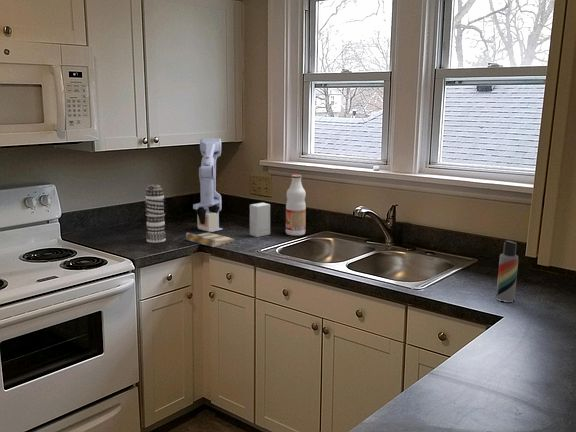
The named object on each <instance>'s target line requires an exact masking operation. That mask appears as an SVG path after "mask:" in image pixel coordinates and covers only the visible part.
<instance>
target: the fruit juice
mask: <svg viewBox="0 0 576 432" xmlns="http://www.w3.org/2000/svg"><path fill="white" fill-rule="evenodd" d="M290 179H291V182H290V185H289V188H288V189H287V190H286V199H287V200H286V204H285V233H286V235H289V236H303V235H305V234H306V225H307V224H306V223H307V221H306V216H307V213H306V212H307V211H306V210H307V207H306V206H307V205H306V201H305V199H306V196H307V195H306V194H307V193H306V190H305V188H304V187H303V183H302V175H301V174H292V175H291V177H290Z"/></svg>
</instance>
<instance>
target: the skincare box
mask: <svg viewBox="0 0 576 432" xmlns="http://www.w3.org/2000/svg"><path fill="white" fill-rule="evenodd" d="M269 235H271V204H270V203H266V202H258V203H252V204H249V236H253V237H255V238H258V237H260V238H261V237H263V236H269Z"/></svg>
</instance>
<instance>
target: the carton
mask: <svg viewBox="0 0 576 432" xmlns="http://www.w3.org/2000/svg"><path fill="white" fill-rule="evenodd" d="M196 217H197V229H198V228H201V229H204V230H208V231H210V230H215V229H218V215H217V213H213V212H209V211H206V214H205V224H200V220H199V217H198V214H197V213H196ZM204 230H203V231H204ZM208 231H207V232H208Z"/></svg>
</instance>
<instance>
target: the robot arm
mask: <svg viewBox="0 0 576 432" xmlns="http://www.w3.org/2000/svg"><path fill="white" fill-rule="evenodd" d="M199 150H200V154H201V157H202V158H201V162H200V163H201V164H200V166H199V168H198V178H199V183H200V186H199V187H200V202H198V203H194V204H192V209H193V210H194V211H195V212H196V215H197V214H198V217H199V220H200V224H205V214H206V211H209V212H213V213H217V215H218V229H215V230H210V231H208V230H204V229H201V228H198V227H197V229H198V230H201V231H203V232H204V231H205V232H207V233H208V232H209V233H212V232H218V231H222V230H223V229H224V228H222V227H220V218H219V217H220V216H219V215H220V212H221V211H222V203H223V202H222V201H223V200H222V195H221V194H220V193H218V191H216V187H217V183H216V182H217V181H216V179H217V177H216V176H217V173H216V172H217V159H218V158H219V157H221V156H222V155H221V154H222V138H220V137H219V138H204V137H201V138H200V139H199Z"/></svg>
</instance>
